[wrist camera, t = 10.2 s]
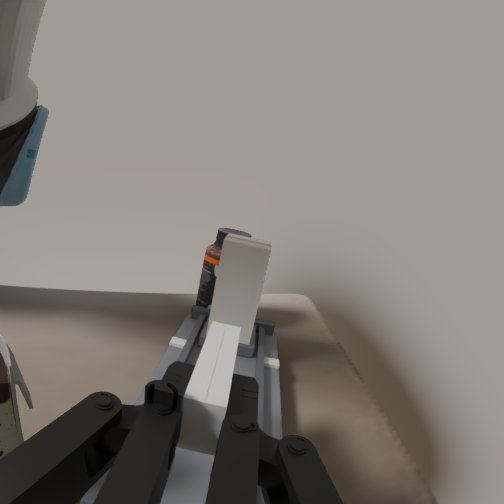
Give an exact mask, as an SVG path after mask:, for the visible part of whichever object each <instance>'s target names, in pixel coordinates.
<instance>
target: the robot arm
mask: <svg viewBox="0 0 504 504" xmlns="http://www.w3.org/2000/svg"><path fill="white" fill-rule="evenodd" d="M45 3H46V0H0V206H17V205H19V204H21V203H22V202H23V201H24V200H25V199H26V197H27V194H28V191H29V186H30V182H31V177H32V173H33V169H34V165H35V161H36V157H37V153H38V149H39V146H40V142H41V138H42V134H43V132H44V128H45V125H46V121H47V118H48V114H49V111H48V109H47V108H45V107H43V106H42V105H40V106H36V105H37V99H38V89H37V87H36V85H35V84H34V82H33V81H32V80H31V79H30V78H29V77H28V72H29V66H30V61H31V56H32V52H33V47H34V43H35V39H36V34H37V30H38V27H39V23H40V19H41V16H42V12H43V9H44V6H45ZM240 330H241V327H237V326H232V325H227V324H223V323H219V322H214V321H212V324H211V326H210V329H209V331H208V334H207V337H206V339H205V342H204V345H203V347H202V350H201V352H200V355H199V358H198V360H197V363H196V365H192V364H188V363H184V362H180V361H175V362H173V363H172V364H170V365H169V366H168V368H167V370H166V372H165V374H164V376H163V378H162V380H153V381H151V382H148V383H147V384H146V385H145V400H144V404H142V405H124V404H122V403H121V401H120V399H119V398H118V397H117V396H115V395H114V394H111V393H109V392H95V393H93V394H91V395H89V396H88V397H86V398H85V399H83V400H82V401H81V402H79V403H78V404H77V405H75V406H74V407H72V408H71V409H70V410H68V411H67V412H66V413H64V414H63V415H61V416H60V417H59V418H57V419H56V420H54V421H53V422H52V423H50V424H49V425H47V426H46V427H45V428H43V429H42V430H40V431H39V432H38V433H36V434H35V435H33V436H32V437H31V438H29V439H28V440H26V441H25V442H23V443H22V444H21V445H19V446H18V447H16V448H15V449H14V450H12V451H11V452H9V453H8V454H6V455H5V456H4V457H2V458H1V459H0V504H75V503H76V502H77V501H78V500H79V499H80V498H81V497H82V496H83V495H84V494H85V493H86V492H87V491H88V490H89V489H90V488H91V487H92V486H93V485H94V484H95V483H96V482H97V481H98V480H99V479H100V478H101V477H102V476H103V475H104V474H105V473H106V472H107V471H108V470H109V469H110V468H111V469H110V471H109V473H108V475H107V476H106V478H105V480H104V482H103V484H102V486H101V488H100V490H99V492H98V494H97V496H96V499H95V501H94V503H93V504H160V502H161V499H162V496H163V493H164V490H165V486H166V483H167V480H168V477H169V474H170V471H171V467H172V464H173V461H174V458H175V451H176V447H179V448H183V449H187V450H191V451H195V452H199V453H204V454H208V455H213V456H215V457H214V461H213V466H212V470H211V474H210V481H209V486H208V491H207V496H206V502H205V504H257V486H260V487H261V491H262V494H263V498H264V501H265V504H343V502H342V500H341V498H340V497H339V495H338V493H337V491H336V489H335V487H334V485H333V483H332V481H331V479H330V477H329V475H328V473H327V471H326V469H325V467H324V465H323V463H322V461H321V459H320V457H319V455H318V453H317V451H316V449H315V447H314V445H313V444H312V443H311V441H309V440H308V439H306V438H304V437H301V436H296V435H290V436H285V437H284V438H282V439H281V440H279V439H276V438H273V437H271V436H269V435H267V434H266V433H264V432H263V431H262V430H261V429H260V428H259V425H258V422H257V418H258V393H259V384H258V383H257V381H256V379H255V377H249V376H244V375H239V374H234V373H233V370H234V365H235V359H236V353H237V347H238V342H239V336H240ZM177 444H178V445H177Z"/></svg>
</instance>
